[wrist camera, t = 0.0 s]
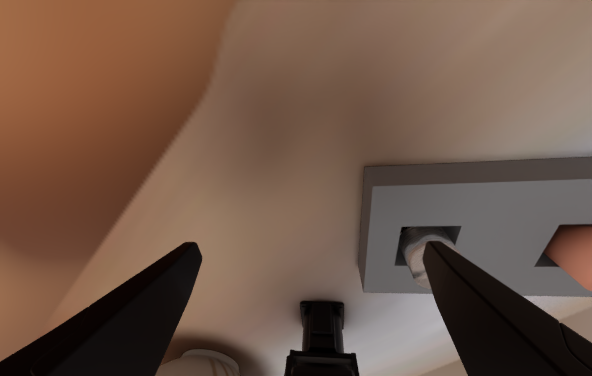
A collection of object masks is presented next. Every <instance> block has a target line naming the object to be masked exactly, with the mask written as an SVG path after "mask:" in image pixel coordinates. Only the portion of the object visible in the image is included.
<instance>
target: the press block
mask: <svg viewBox="0 0 592 376" xmlns="http://www.w3.org/2000/svg"><path fill="white" fill-rule="evenodd" d="M560 224H592V157H578V158H556V159H533V160H511V161H488V162H465V163H443V164H420V165H398V166H375V167H364V183H363V198H362V213H361V229H360V244H359V259H358V267H359V272H360V277H361V282H362V288H363V292H371V293H421V294H433V293H432V289H428V288H424V287H422V286H420V285H418V284H417V283H416V282H415V281H414V279H413V277H412V274H411V272H410V270H409V267H408V265H407V263H406V260H405V258H404V256H403V253H402V251H401V249H400V247H399V237H400V232H401V227H411V226H440V227H441V228H442V229H443V230H444V231H445V233H446V234H447V236H448V237H449V238H450V240H451V241H452V242H453V244H454V245H455V246H456V248H457V249H458V251H459V252H460V253H461V255H462V256H463V257H465V258H466V259H468V260H469V261H471V262H472V263H474V264H475V265H477V266H478V267H480V268H481V269H483V270H484V271H486V272H487V273H489V274H490V275H491V276H493V277H494V278H496V279H497V280H499V281H500V282H502V283H503V284H505V285H506V286H508V287H509V288H511V289H512V290H514V291H515V292H517V293H518V294H520V295H521V296H570V297H592V291H590V290H587V289H585V288H584V287H583V286H582V285H581V284H579V283H578V282H577V281H576V280H575V279H574V278H572V277H571V276H570V275H569V274H568V273H567V272H565V271H564V270H563V269H562V268H561V267H560V266H558V265H557V264H556V263H555V262H554V261H553V260H551V259H550V258H549V257H548V256H547V255H546V254H544V253H543V251H544V249H545V248H546V246H547V244H548V243H549V241H550V239H551V238H552V236H553V235H554V233H555V231H556V230H557V228H558V226H559V225H560Z"/></svg>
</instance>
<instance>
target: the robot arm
mask: <svg viewBox="0 0 592 376" xmlns="http://www.w3.org/2000/svg"><path fill="white" fill-rule="evenodd" d="M422 259H423V264H424V268H425V271H426V274H427V277H428V280H429V283H430V286H431V289H432V293H433V296H434V299H435V301H436V304H437V307H438V309H439V311H440V314H441V316H442V318H443V320H444V323H445V325H446V327H447V329H448V332H449V334H450V336H451V338H452V341H453V343H454V345H455V347H456V350H457V352H458V354H459V356H460V359H461V361H462V363H463V365H464V368H465V370H466V372H467V374H468V376H592V343H591V342H590V341H588V340H587V339H585V338H584V337H582V336H581V335H579V334H578V333H576V332H575V331H573V330H572V329H570V328H569V327H567V326H566V325H564V324H563V323H559V321H558V320H557V319H555V318H554V317H552V316H551V315H549V314H548V313H546V312H545V311H543V310H542V309H540V308H539V307H537V306H536V305H534V304H533V303H532V302H530V301H529V300H527V299H526V298H524V297H523V296H521V295H520V294H518V293H517V292H515V291H514V290H512V289H511V288H509V287H508V286H506V285H505V284H503V283H502V282H500V281H499V280H497V279H496V278H494V277H493V276H491V275H490V274H489V273H487V272H486V271H484V270H483V269H481V268H480V267H478V266H477V265H475V264H474V263H472V262H471V261H469V260H468V259H466V258H465V257H463V256H462V255H460V254H459V253H457V252H456V251H454V250H453V249H451V248H450V247H448V246H447V245H446V244H444V243H443V242H441V241H427V243H426V245H425V249H424V253H423V258H422ZM201 263H202V255H201V252H200V250H199V247H198V245H197V243H196V242H185V243H183V244H182V245H180V246H179V247H177V248H176V249H174V250H173V251H171V252H170V253H168V254H167V255H165V256H164V257H162V258H161V259H159V260H158V261H156V262H155V263H153V264H152V265H150V266H149V267H147V268H146V269H144V270H143V271H141V272H140V273H138V274H136V275H135V276H133V277H132V278H130V279H129V280H127V281H126V282H124V283H123V284H121V285H120V286H118V287H117V288H115V289H114V290H112V291H111V292H109V293H108V294H106V295H105V296H103V297H102V298H100V299H99V300H97V301H96V302H94V303H93V304H91V305H90V306H89V307H87V308H85V309H84V310H82V311H81V312H79V313H78V314H76V315H75V316H73V317H72V318H70V319H69V320H67V321H66V322H64V323H62V324H61V325H59V326H58V327H56V328H55V329H53V330H51V331H50V332H48V333H47V334H45V335H43V336H42V337H40V338H38V339H37V340H35V341H34V342H32V343H30V344H29V345H27V346H25V347H24V348H22V349H20V350H19V351H17V352H16V353H14V354H12V355H10V356H9V357H7V358H5V359H4V360H2V361H1V362H0V376H155V375H156V373H157V370H158V368H159V366H160V364H161V361H162V359H163V357H164V355H165V352H166V350H167V348H168V346H169V343H170V341H171V339H172V337H173V334H174V332H175V330H176V328H177V325H178V323H179V321H180V319H181V316H182V314H183V312H184V310H185V307H186V305H187V303H188V300H189V298H190V295H191V293H192V290H193V287H194V284H195V281H196V278H197V275H198V272H199V269H200V266H201ZM300 310H301V317H302V325H303V342H302V351H295V350H290V355H289V356H287V360H286V369H285V374H284V376H359V371H358V365H357V359H356V353H351V354H348V353H344V347H343V335H342V330H343V326H344V304H343V303H332V302H301V303H300Z"/></svg>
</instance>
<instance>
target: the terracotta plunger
mask: <svg viewBox="0 0 592 376" xmlns="http://www.w3.org/2000/svg"><path fill="white" fill-rule="evenodd" d="M543 253H544V254H546V255H547V256H548V257H549V258H550V259H551V260H553V261H554V262H555V263H556V264H557V265H558V266H560V267H561V268H562V269H563V270H564V271H565V272H567V273H568V274H569V275H570V276H571V277H572V278H574V279H575V280H576V281H577V282H578V283H579V284H581V285H582V286H583V287H584V288H585V289H587V290H590V291H592V224H561V225H559V226H558V228H557V230H556V231H555V233H554V235H553V236H552V238H551V239H550V241H549V243H548V244H547V246H546V248H545V249H544V251H543Z"/></svg>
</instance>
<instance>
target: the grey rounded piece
mask: <svg viewBox="0 0 592 376" xmlns="http://www.w3.org/2000/svg"><path fill="white" fill-rule="evenodd" d="M427 241H441V242H443V243H444V244H446V245H447V246H448V247H450V248H451V249H453V250H454V251H456V252H457V253H459V254H460V255H461V253H460V252H459V251H458V249H457V248H456V246H455V245H454V244H453V242H452V241H451V240H450V238H449V237H448V236H447V234H446V233H445V231H444V230H443V229H442V228H441V227H440V226H411V227H409V228H407V229H406V230H405V231H404V232H403V233H402V234H401V236H400V238H399V247H400V249H401V251H402V253H403V256H404V258H405V260H406V263H407V265H408V267H409V270H410V272H411V274H412V277H413V279H414V281H415V282H416V283H417V284H418V285H420V286H422V287H424V288H428V289H431V286H430V283H429V280H428V277H427V274H426V271H425V268H424V264H423V259H422V258H423V253H424V249H425V245H426V243H427Z"/></svg>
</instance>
